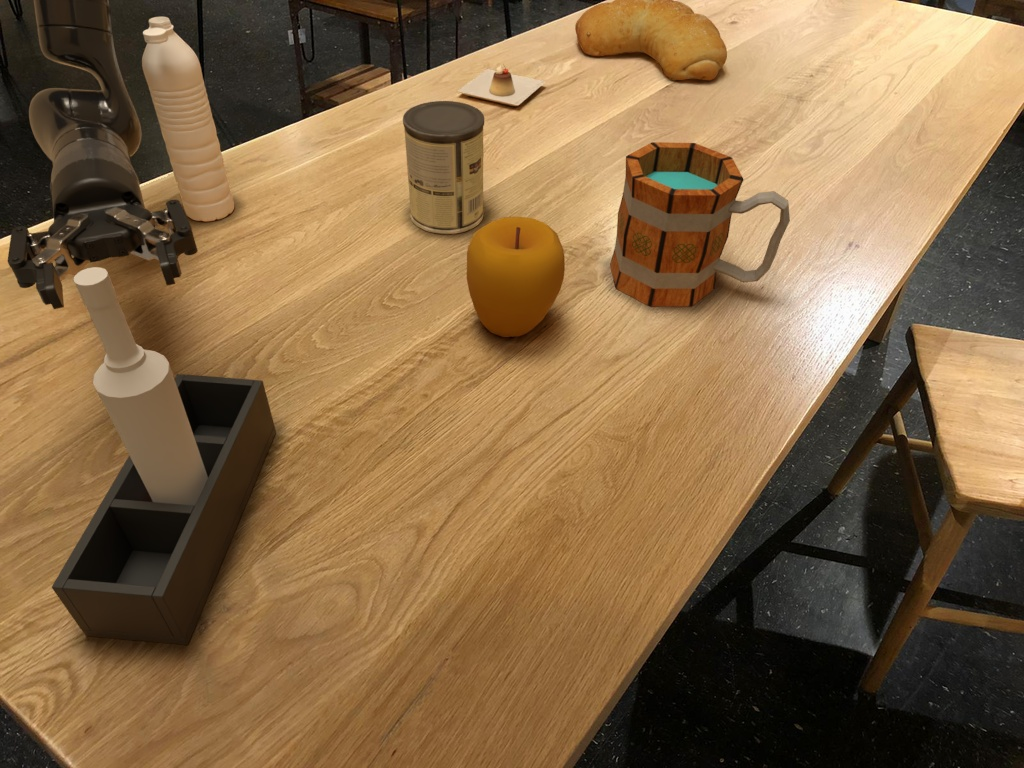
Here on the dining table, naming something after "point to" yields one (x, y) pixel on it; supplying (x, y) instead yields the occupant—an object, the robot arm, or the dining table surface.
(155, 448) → the bottle
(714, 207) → the mug
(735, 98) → the dining table surface
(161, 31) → the water bottle
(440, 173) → the coffee can
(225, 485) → the rack
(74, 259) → the robot arm
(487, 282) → the apple
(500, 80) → the dessert
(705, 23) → the bread
